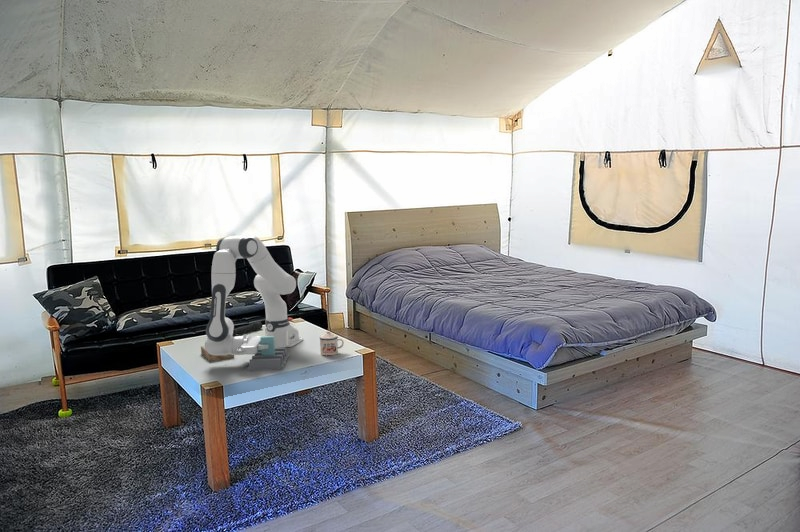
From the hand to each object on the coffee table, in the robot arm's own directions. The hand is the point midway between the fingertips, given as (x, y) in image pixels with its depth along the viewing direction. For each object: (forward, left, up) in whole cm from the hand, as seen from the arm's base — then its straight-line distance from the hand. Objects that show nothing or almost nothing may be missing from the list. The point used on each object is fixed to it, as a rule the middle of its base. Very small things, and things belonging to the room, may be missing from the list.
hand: (269, 344), depth 280 cm
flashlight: (-42, -52, -10) cm, 68 cm away
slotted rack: (0, -1, -9) cm, 9 cm away
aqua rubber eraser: (0, -1, -8) cm, 8 cm away
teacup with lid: (-26, +18, -10) cm, 33 cm away
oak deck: (0, -34, -9) cm, 35 cm away
